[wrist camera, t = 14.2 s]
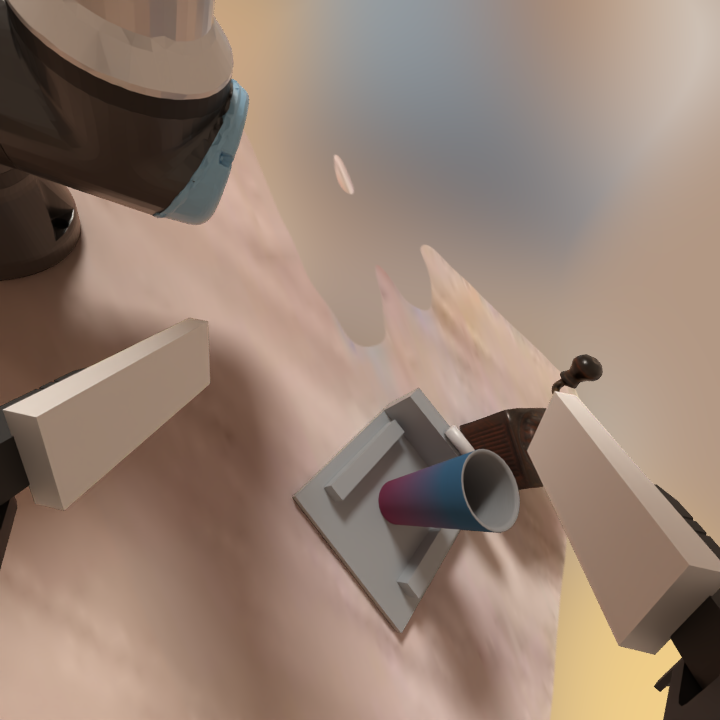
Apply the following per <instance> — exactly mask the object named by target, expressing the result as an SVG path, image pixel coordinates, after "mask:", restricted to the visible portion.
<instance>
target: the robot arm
mask: <svg viewBox="0 0 720 720" xmlns="http://www.w3.org/2000/svg"><path fill="white" fill-rule="evenodd" d="M214 4H215V0H0V280H7V279H14V278H20V277H24V276H28V275H31V274H35V273H38V272H40V271H43V270H45V269H47V268H49V267H51V266H53V265H55V264H57V263H58V262H60V261H61V260H62V259H64V258H65V257H66V256H67V255H68V254H69V253H70V252H71V251H72V249H73V248H74V247H75V245H76V243H77V241H78V238H79V235H80V220H79V216H78V212H77V208H76V204H75V201H74V199H73V197H72V195H71V193H70V191H69V190H68V188H67V187H66V186H68V187H70V188H73V189H76V190H79V191H82V192H85V193H88V194H91V195H94V196H97V197H100V198H103V199H106V200H109V201H112V202H115V203H118V204H121V205H124V206H127V207H130V208H133V209H136V210H139V211H142V212H145V213H148V214H150V215H153V216H154V217H157V218H168V219H172V220H176V221H179V222H183V223H187V224H192V225H199V224H203V223H205V222H206V221H208V220H209V219H210V218H211V217H212V215H213V214H214V212H215V210H216V208H217V206H218V204H219V201H220V199H221V196H222V194H223V191H224V188H225V186H226V183H227V180H228V177H229V174H230V171H231V166H232V162H233V160H234V157H235V154H236V151H237V149H238V146H239V143H240V139H241V136H242V132H243V129H244V125H245V121H246V116H247V111H248V105H249V96H248V93H247V92H246V90H245V89H244V88H242V87H241V86H240V85H239V84H238V83H237V81H235V80H234V79H231V77H232V71H233V55H232V49H231V46H230V44H229V41H228V39H227V37H226V35H225V33H224V31H223V29H222V28H221V26H220V25H219V23H218V21H217V20H216V18H215V17H214V15H213V14H214ZM209 384H210V360H209V332H208V321H203V320H198V319H193V318H188V319H186V320H184V321H182V322H179V323H177V324H175V325H173V326H171V327H169V328H167V329H165V330H163V331H161V332H159V333H157V334H155V335H153V336H151V337H149V338H147V339H145V340H143V341H141V342H139V343H137V344H135V345H133V346H131V347H129V348H127V349H125V350H123V351H121V352H119V353H117V354H115V355H113V356H111V357H108V358H106V359H104V360H102V361H100V362H98V363H96V364H94V365H92V366H90V367H87V368H83V369H80V370H76V371H73V372H70V373H68V374H66V375H64V376H62V377H60V378H58V379H56V380H54V382H50V383H48V384H45V385H43V386H41V387H40V388H39V390H37V389H35V390H33V391H31V392H29V393H27V394H25V395H23V396H21V397H18V398H16V399H14V400H12V401H10V402H8V403H6V404H4V405H2V406H0V569H1V565H2V561H3V558H4V554H5V550H6V547H7V543H8V539H9V536H10V532H11V528H12V525H13V521H14V517H15V514H16V510H17V502H16V499H15V495H16V494H18V493H19V492H21V491H22V490H23V489H25V488H26V487H27V486H29V488H30V491H31V493H32V496H33V499H34V502H35V504H38V505H42V506H46V507H51V508H55V509H59V510H63V511H64V510H66V509H67V508H68V507H69V506H70V505H71V504H72V503H74V502H75V501H76V500H77V499H78V498H79V497H80V496H82V495H83V494H84V493H85V492H86V491H87V490H89V489H90V488H91V487H92V486H93V485H94V484H95V483H97V482H98V481H99V480H100V479H101V478H102V477H103V476H105V475H106V474H107V473H108V472H109V471H110V470H112V469H113V468H114V467H115V466H116V465H117V464H118V463H120V462H121V461H122V460H123V459H124V458H125V457H126V456H128V455H129V454H130V453H131V452H132V451H133V450H135V449H136V448H137V447H138V446H139V445H140V444H141V443H143V442H144V441H145V440H146V439H147V438H148V437H149V436H151V435H152V434H153V433H154V432H155V431H156V430H158V429H159V428H160V427H161V426H162V425H163V424H164V423H166V422H167V421H168V420H169V419H170V418H171V417H172V416H174V415H175V414H176V413H177V412H178V411H179V410H180V409H182V408H183V407H184V406H185V405H186V404H187V403H189V402H190V401H191V400H192V399H193V398H194V397H195V396H197V395H198V394H199V393H200V392H201V391H202V390H203V389H205V388H206V387H207V386H208V385H209ZM527 452H528V454H529V456H530V458H531V460H532V462H533V465H534V467H535V469H536V471H537V473H538V475H539V477H540V479H541V482H542V484H543V486H544V488H545V490H546V492H547V494H548V496H549V499H550V501H551V503H552V505H553V507H554V509H555V511H556V513H557V516H558V518H559V520H560V522H561V524H562V526H563V528H564V530H565V533H566V535H567V537H568V539H569V541H570V543H571V545H572V547H573V550H574V552H575V554H576V556H577V558H578V560H579V562H580V564H581V567H582V569H583V571H584V573H585V575H586V577H587V579H588V581H589V584H590V586H591V588H592V590H593V592H594V594H595V596H596V598H597V601H598V603H599V605H600V607H601V609H602V611H603V613H604V615H605V617H606V620H607V622H608V624H609V626H610V628H611V630H612V632H613V635H614V637H615V639H616V641H617V643H618V645H619V646H621V647H625V648H630V649H634V650H638V651H642V652H646V653H650V654H654V655H655V654H656V653H657V652H658V651H659V650H660V649H661V648H662V647H663V646H664V645H665V644H666V643H667V642H668V641H669V640H670V639H671V640H672V641H673V643H674V645H675V646H676V648H677V650H678V651H679V653H680V655H681V656H682V658H681V659H680V660H679V661H678V662H677V663H676V664H675V665H674V666H673V667H672V668H671V669H670V670H669V671H668V672H667V673H665V674H664V675H663V677H661V678H660V679H659V680H658V682H657V683H656V684H655V686H654V687H655V688H656V689H657V690H658V691H660V692H661V691H662V690H663V689H664V688H665V687H666V686H670V687H669V692H668V698H667V703H666V708H665V713H664V719H663V720H720V547H719V546H718V545H717V544H716V543H715V542H714V541H713V539H712V538H711V537H710V536H706V532H705V531H704V530H703V529H702V527H701V526H700V525H699V524H698V523H697V522H696V521H693V517H692V516H691V515H690V514H689V513H688V512H687V511H686V510H685V509H684V507H683V506H682V505H681V504H680V503H679V502H678V501H677V500H675V499H674V498H673V497H672V496H671V495H669V494H668V493H667V492H665V491H664V490H663V489H662V488H660V487H659V486H658V485H655V484H653V483H652V482H651V481H650V479H649V478H648V477H647V476H646V475H645V474H644V473H643V471H642V470H641V469H640V468H639V467H638V466H637V465H636V463H635V462H634V461H633V460H632V459H631V458H630V456H629V455H628V454H627V453H626V452H625V451H624V450H623V449H622V447H621V446H620V445H619V444H618V443H617V442H616V440H615V439H614V438H613V437H612V436H611V435H610V434H609V433H608V431H607V430H606V429H605V428H604V427H603V426H602V424H601V423H600V422H599V421H598V420H597V419H596V417H595V416H594V415H593V414H592V413H591V412H590V411H589V410H588V408H587V407H586V406H585V405H584V404H583V403H582V401H581V400H580V399H579V398H578V397H577V396H576V395H572V394H567V393H562V392H557V391H554V393H553V395H552V398H551V400H550V402H549V404H548V406H547V408H546V411H545V413H544V415H543V417H542V419H541V421H540V424H539V426H538V428H537V430H536V432H535V435H534V437H533V439H532V441H531V443H530V445H529V448H528V450H527Z"/></svg>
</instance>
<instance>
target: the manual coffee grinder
mask: <svg viewBox="0 0 720 720" xmlns="http://www.w3.org/2000/svg"><path fill="white" fill-rule="evenodd" d="M602 372H603V371H602V366H601V364H600V362H598V360H597V359H596V358H594V357H591V356H589V355H580V356H577V357H576V358H574V359H573V362H572V366H571V367H570V369H569V370H567V371H563V372H561V373H560V376H561V379H560V380H558V381H557V382H555V383H554V384H553V386H552V394H553V393H554V391H557V392H560V389H561V387H563V386H564V385H565V386H569V387H571V388H574V389H575V388H576V387H577V386H578V384H579V383H580V382H583V381H595V380H598V379H599V378H600V377H601V376H602ZM545 411H546V408H515V409H508V410H504V411H501V412H498V413H495V414H493V415H490V416H487V417H485V418H482V419H479V420H476V421H473V422H470V423H467V424H464V425H461V426H460V432H461V433H462V434H463V436H464V437H465V438H466V439H467V441H468V442H469V443H470V444H471V446H472V447H473V448H474V449H475V450H478V449H486V450H490V451H492V452H494V453H496V454H497V455H498V456H500V457H501V458H502V459H503V460H504V461H505V463H506V464H507V465H508V466H509V468H510V470H511V471H512V473H513V475H514V478H515V480H516V483H517V486H518V490H521V489H527V488H537V487H544V486H543V484H542V482H541V479H540V477H539V475H538V473H537V471H536V469H535V467H534V465H533V462H532V460H531V458H530V456H529V454H528V452H527V450H528V448H529V445H530V443H531V441H532V439H533V437H534V435H535V432H536V430H537V428H538V426H539V424H540V421H541V419H542V417H543V415H544V413H545Z"/></svg>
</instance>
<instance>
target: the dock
mask: <svg viewBox="0 0 720 720" xmlns="http://www.w3.org/2000/svg"><path fill="white" fill-rule="evenodd" d="M472 451H475V449H474V448H473V447H472V446H471V444H470V443H469V442H468V441H467V439H466V438H465V437H464V436H463V434H462V433H461V432H460V431H459V429H458V428H457V427H456V426H455V425H452V426H449V425H448V424H447V422H446V421H445V420H444V419H443V417H442V416H441V415H440V414H439V412H438V411H437V410H436V409H435V407H434V406H433V405H432V404H431V402H430V401H429V400H428V399H427V397H426V396H425V395H424V393H423V392H422V391H421V390H420V388H417V389H415V390H413V391H412V392H410V393H408V394H406V395H404V396H403V397H401V398H399V399H397V400H395V401H393V402H392V403H390V404H388V405H387V406H386V407H385V408H384V409H383V410H382V411H381V412H380V413H379V414H378V415H377V416H376V417H375V418H374V419H373V420H372V421H371V422H370V423H369V424H367V425H366V426H365V427H364V428H363V429H362V430H361V431H360V432H359V433H358V434H357V435H356V436H355V437H354V438H353V439H352V440H351V441H350V442H349V443H348V444H347V445H346V446H345V447H344V448H343V449H342V450H341V451H339V452H338V453H337V454H336V455H335V456H334V457H333V458H332V459H331V460H330V461H329V462H328V463H327V464H326V465H325V466H324V467H323V468H322V469H321V470H320V471H319V472H318V473H317V474H316V475H315V476H314V477H313V478H311V479H310V480H309V481H308V482H307V483H306V484H305V485H304V486H303V487H302V488H301V489H300V490H299V491H298V492H297V493H296V494H295V495H294V496H293V499H294V500H295V501H296V502H297V504H298V505H299V506H300V508H301V509H302V510H303V511H304V513H305V514H306V515H307V517H308V518H309V519H310V521H311V522H312V523H313V524H314V526H315V527H316V528H317V530H318V531H319V532H320V533H321V535H322V536H323V537H324V539H325V540H326V541H327V542H328V544H329V545H330V546H331V548H332V549H333V550H334V552H335V553H336V554H337V555H338V557H339V558H340V559H341V561H342V562H343V563H344V564H345V566H346V567H347V568H348V570H349V571H350V572H351V573H352V575H353V576H354V577H355V579H356V580H357V581H358V583H359V584H360V585H361V586H362V588H363V589H364V590H365V592H366V593H367V594H368V595H369V597H370V598H371V599H372V601H373V602H374V603H375V605H376V606H377V607H378V608H379V610H380V611H381V612H382V614H383V615H384V616H385V617H386V619H387V620H388V621H389V623H390V624H391V625H392V626H393V628H394V629H395V630H396V631H397V632H399V633H402V632H403V630H404V628H405V627H406V625H407V623H408V621H409V620H410V618H411V616H412V614H413V613H414V611H415V609H416V607H417V606H418V604H419V602H420V600H421V599H422V597H423V595H424V593H425V592H426V590H427V588H428V586H429V585H430V583H431V581H432V579H433V578H434V576H435V574H436V572H437V571H438V569H439V567H440V565H441V564H442V562H443V560H444V558H445V557H446V555H447V553H448V551H449V550H450V548H451V546H452V544H453V543H454V541H455V539H456V537H457V535H458V534H459V532H460V530H458V529H445V528H432V527H419V526H407V525H395V524H392V523H390V522H388V521H387V520H386V519H385V518H384V516H383V515H382V513H381V511H380V508H379V503H378V498H379V493H380V490H381V488H382V486H383V485H384V484H385V483H387V482H388V481H391V480H393V479H396V478H399V477H402V476H405V475H407V474H410V473H413V472H416V471H419V470H421V469H424V468H427V467H430V466H433V465H435V464H438V463H441V462H444V461H447V460H449V459H452V458H455V457H458V456H461V455H463V454H466V453H469V452H472Z"/></svg>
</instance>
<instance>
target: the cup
mask: <svg viewBox="0 0 720 720" xmlns="http://www.w3.org/2000/svg"><path fill="white" fill-rule="evenodd" d="M378 503H379V508H380V511H381V513H382V515H383V516H384V518H385V519H386V520H387V521H388V522H390V523H392V524H395V525H407V526H419V527H432V528H445V529H458V530H470V531H483V532H496V533H501V532H505V531H507V530H509V529H510V528H511V527H512V526H513V525H514V524H515V521H516V519H517V517H518V513H519V507H520V497H519V491H518V486H517V483H516V480H515V478H514V475H513V473H512V471H511V470H510V468H509V466H508V465H507V464H506V463H505V461H504V460H503V459H502V458H501V457H500V456H498V455H497V454H496V453H494V452H492V451H490V450H486V449H478V450H475V451H472V452H469V453H466V454H463V455H461V456H458V457H455V458H452V459H449V460H447V461H444V462H441V463H438V464H435V465H433V466H430V467H427V468H424V469H421V470H419V471H416V472H413V473H410V474H407V475H405V476H402V477H399V478H396V479H393V480H391V481H388V482H387V483H385V484H384V485H383V486H382V488H381V490H380V493H379V498H378Z"/></svg>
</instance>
